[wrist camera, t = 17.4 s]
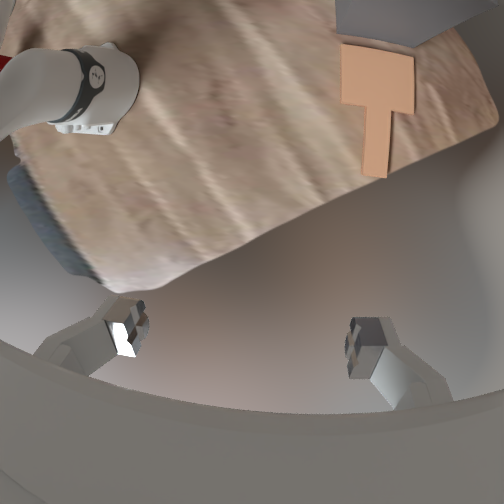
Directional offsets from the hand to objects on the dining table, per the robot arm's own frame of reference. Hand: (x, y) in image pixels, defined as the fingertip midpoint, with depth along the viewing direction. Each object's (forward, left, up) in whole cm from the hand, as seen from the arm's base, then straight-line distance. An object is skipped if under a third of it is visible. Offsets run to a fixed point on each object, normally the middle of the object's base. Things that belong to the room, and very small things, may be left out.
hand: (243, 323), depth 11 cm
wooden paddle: (+14, +10, -38) cm, 42 cm away
